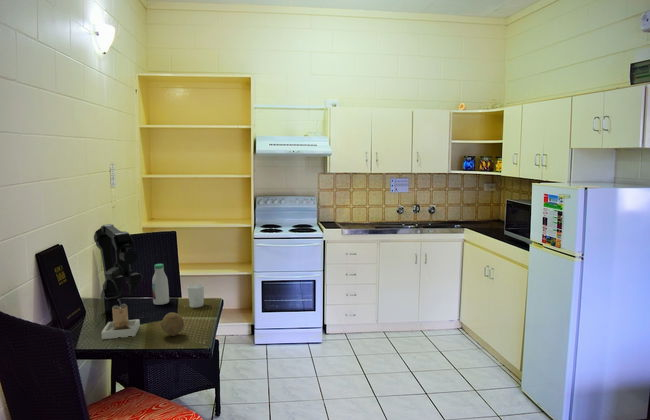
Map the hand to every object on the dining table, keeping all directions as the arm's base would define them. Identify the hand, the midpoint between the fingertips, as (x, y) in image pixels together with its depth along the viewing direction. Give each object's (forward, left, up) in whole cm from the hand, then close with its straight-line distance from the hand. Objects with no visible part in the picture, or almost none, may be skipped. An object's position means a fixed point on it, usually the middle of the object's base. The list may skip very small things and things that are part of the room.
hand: (125, 293), depth 227 cm
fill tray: (0, -14, -13) cm, 19 cm away
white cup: (+30, +16, -13) cm, 37 cm away
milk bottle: (+12, +26, -13) cm, 32 cm away
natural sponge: (+22, -24, -13) cm, 35 cm away
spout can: (0, -14, -12) cm, 18 cm away
